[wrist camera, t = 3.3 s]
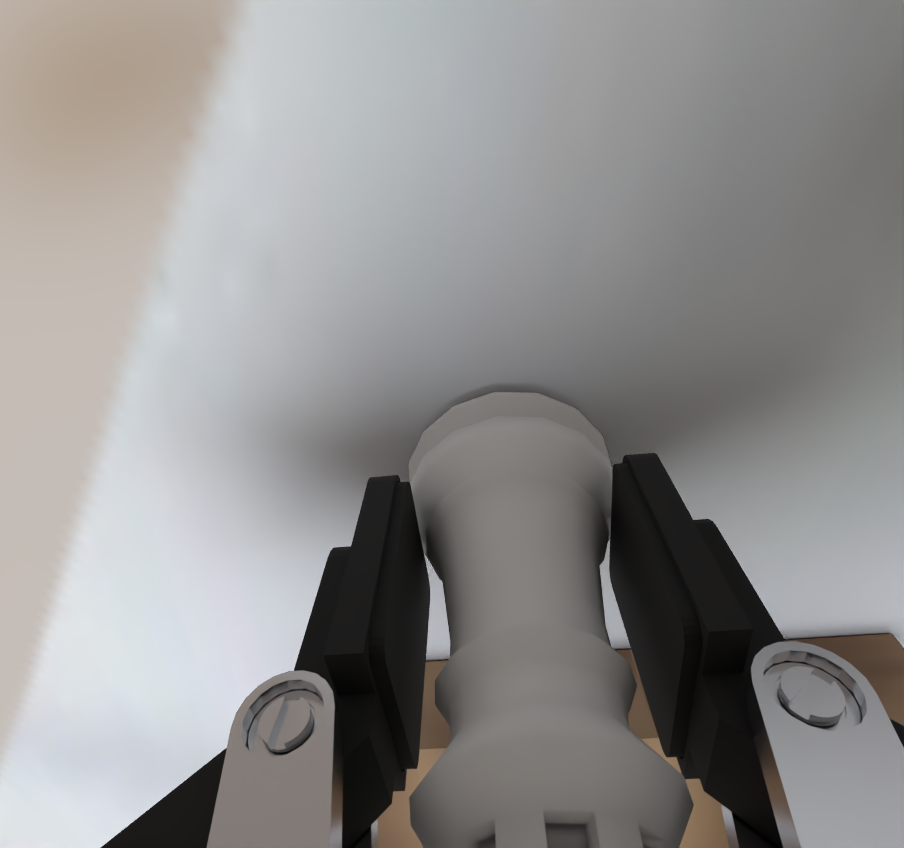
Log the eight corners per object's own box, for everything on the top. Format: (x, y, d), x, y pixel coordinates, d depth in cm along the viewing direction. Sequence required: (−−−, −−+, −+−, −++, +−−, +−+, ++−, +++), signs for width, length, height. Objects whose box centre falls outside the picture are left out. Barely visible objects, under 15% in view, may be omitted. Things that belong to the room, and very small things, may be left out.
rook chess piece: (611, 530, 13) (769, 991, 6) (430, 552, 14) (397, 1003, 7) (602, 364, 11) (829, 790, 4) (388, 397, 12) (276, 829, 5)
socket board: (892, 633, 15) (964, 723, 13) (814, 818, 20) (857, 905, 18) (317, 668, 16) (295, 755, 14) (380, 834, 21) (370, 917, 19)
